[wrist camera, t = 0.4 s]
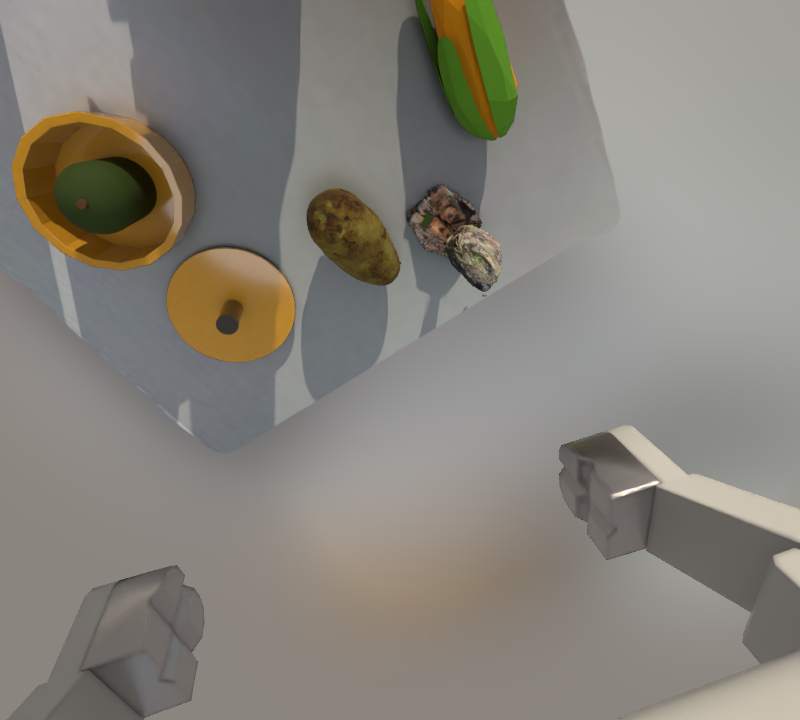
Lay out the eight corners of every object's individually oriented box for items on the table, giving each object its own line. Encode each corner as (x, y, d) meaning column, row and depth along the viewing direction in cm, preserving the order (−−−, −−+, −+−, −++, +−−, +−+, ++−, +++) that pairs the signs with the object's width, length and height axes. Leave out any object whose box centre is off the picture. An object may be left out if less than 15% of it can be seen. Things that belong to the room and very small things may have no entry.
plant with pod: (441, 283, 58) (502, 350, 41) (398, 208, 53) (447, 249, 35) (494, 249, 58) (578, 302, 40) (455, 169, 52) (534, 191, 35)
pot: (18, 130, 42) (-24, 131, 37) (162, 101, 43) (142, 98, 38) (92, 265, 49) (66, 283, 43) (215, 238, 50) (204, 252, 45)
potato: (341, 295, 56) (347, 319, 49) (295, 196, 50) (294, 208, 43) (401, 270, 56) (415, 290, 49) (362, 167, 50) (373, 174, 43)
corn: (482, 156, 44) (399, -97, 34) (454, 154, 51) (378, -58, 41) (546, 120, 45) (481, -142, 35) (510, 123, 51) (447, -96, 41)
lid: (146, 262, 50) (128, 278, 44) (274, 232, 51) (271, 245, 46) (198, 370, 57) (188, 395, 52) (309, 342, 58) (310, 364, 53)
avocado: (77, 163, 44) (19, 173, 35) (140, 150, 45) (99, 157, 35) (108, 225, 47) (63, 249, 38) (167, 212, 48) (136, 233, 39)
